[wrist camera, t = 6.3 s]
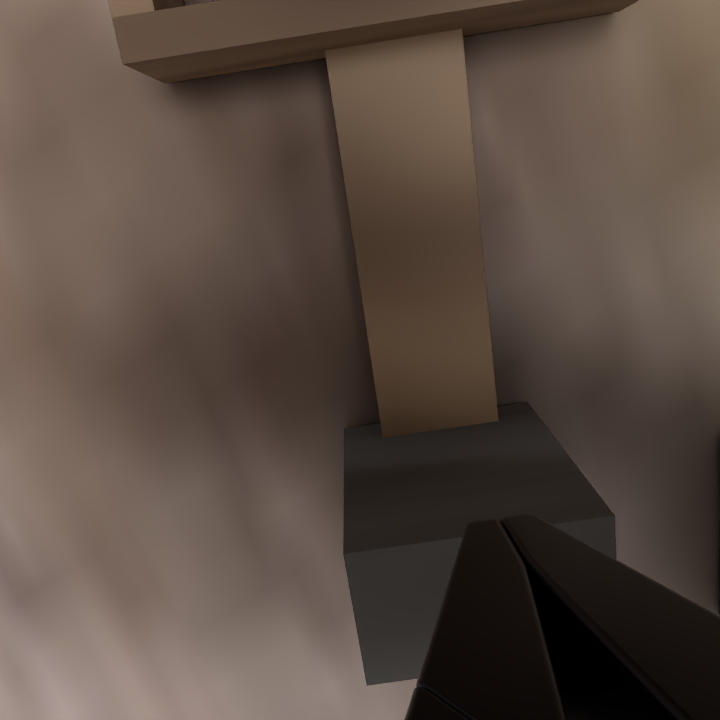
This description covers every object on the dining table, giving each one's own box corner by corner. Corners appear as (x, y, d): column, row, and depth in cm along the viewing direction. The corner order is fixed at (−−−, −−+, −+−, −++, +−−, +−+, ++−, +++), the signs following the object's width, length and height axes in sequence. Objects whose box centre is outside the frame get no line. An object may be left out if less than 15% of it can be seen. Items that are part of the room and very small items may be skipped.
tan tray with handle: (633, 486, 18) (763, 631, 13) (263, 539, 19) (226, 704, 13) (599, -625, 12) (833, -1357, 6) (34, -522, 12) (-244, -1137, 6)
